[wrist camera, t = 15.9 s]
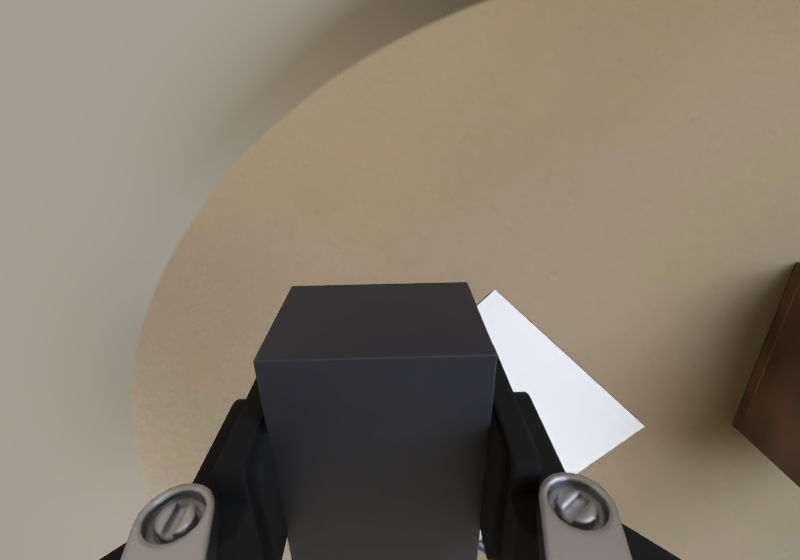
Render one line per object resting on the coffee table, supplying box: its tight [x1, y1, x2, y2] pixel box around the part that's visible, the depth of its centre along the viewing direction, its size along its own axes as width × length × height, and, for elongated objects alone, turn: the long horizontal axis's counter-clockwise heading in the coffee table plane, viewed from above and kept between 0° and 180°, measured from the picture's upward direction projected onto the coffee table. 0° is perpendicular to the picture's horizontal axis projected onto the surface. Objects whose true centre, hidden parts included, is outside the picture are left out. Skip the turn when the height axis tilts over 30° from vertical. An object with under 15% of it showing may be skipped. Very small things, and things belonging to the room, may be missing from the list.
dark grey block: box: [253, 282, 497, 560], centre depth 10 cm, size 4×6×3 cm
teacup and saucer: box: [477, 290, 645, 541], centre depth 35 cm, size 9×8×4 cm
